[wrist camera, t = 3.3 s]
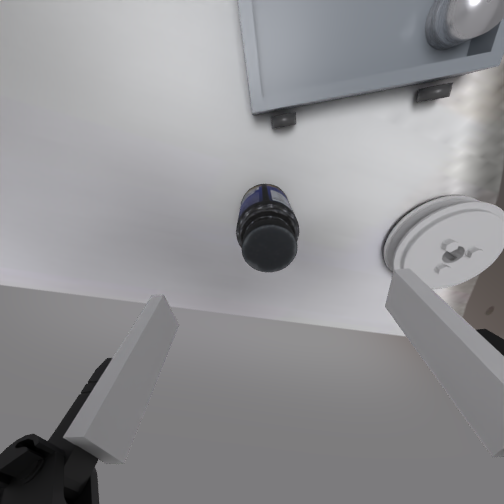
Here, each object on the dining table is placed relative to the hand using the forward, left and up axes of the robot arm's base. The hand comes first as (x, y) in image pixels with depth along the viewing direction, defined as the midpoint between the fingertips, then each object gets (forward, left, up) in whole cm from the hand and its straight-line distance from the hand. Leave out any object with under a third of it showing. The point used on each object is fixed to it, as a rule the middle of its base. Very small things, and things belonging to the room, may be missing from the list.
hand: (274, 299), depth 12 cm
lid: (+22, -8, -17) cm, 29 cm away
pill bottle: (0, 0, -17) cm, 17 cm away
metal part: (+17, +14, -16) cm, 27 cm away
